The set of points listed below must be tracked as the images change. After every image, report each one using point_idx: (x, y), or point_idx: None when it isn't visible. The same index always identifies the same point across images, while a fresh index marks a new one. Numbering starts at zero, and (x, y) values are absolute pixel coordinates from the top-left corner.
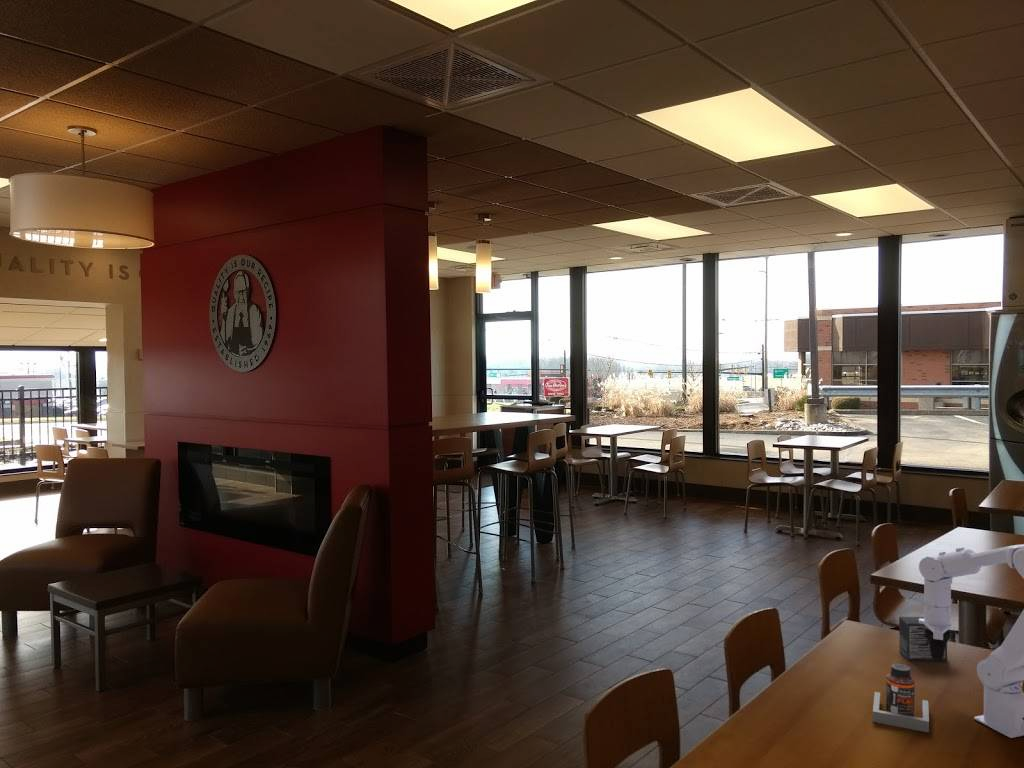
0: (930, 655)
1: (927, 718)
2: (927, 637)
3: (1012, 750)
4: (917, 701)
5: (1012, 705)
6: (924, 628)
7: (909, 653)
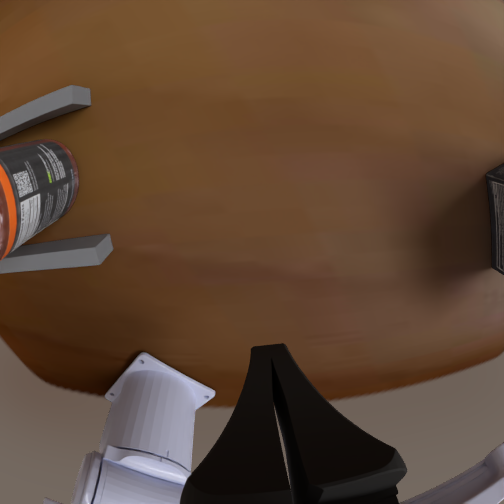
0: (501, 237)
1: (4, 269)
2: (197, 467)
3: (66, 387)
4: (169, 211)
5: (101, 449)
6: (335, 488)
7: (501, 183)
